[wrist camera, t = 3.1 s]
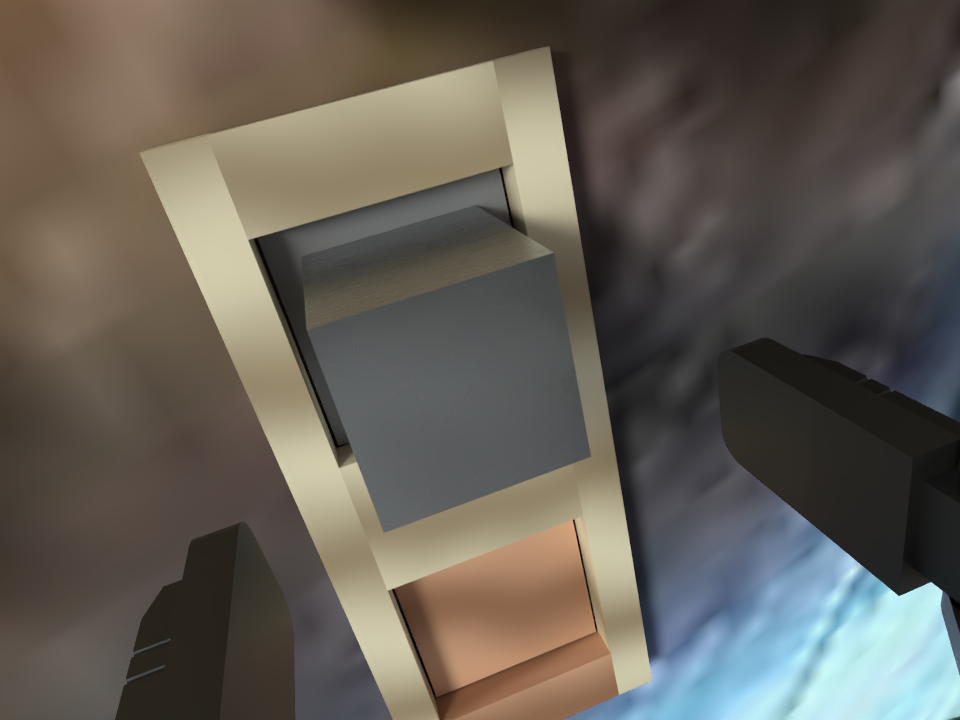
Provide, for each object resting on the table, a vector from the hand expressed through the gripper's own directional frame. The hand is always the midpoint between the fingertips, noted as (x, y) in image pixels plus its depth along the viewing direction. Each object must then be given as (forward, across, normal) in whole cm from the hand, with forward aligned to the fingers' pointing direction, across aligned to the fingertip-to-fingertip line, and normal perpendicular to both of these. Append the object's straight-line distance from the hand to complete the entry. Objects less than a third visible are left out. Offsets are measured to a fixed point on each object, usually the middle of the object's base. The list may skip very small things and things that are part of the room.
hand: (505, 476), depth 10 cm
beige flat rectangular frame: (+9, 0, +6) cm, 11 cm away
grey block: (+9, 0, 0) cm, 9 cm away
